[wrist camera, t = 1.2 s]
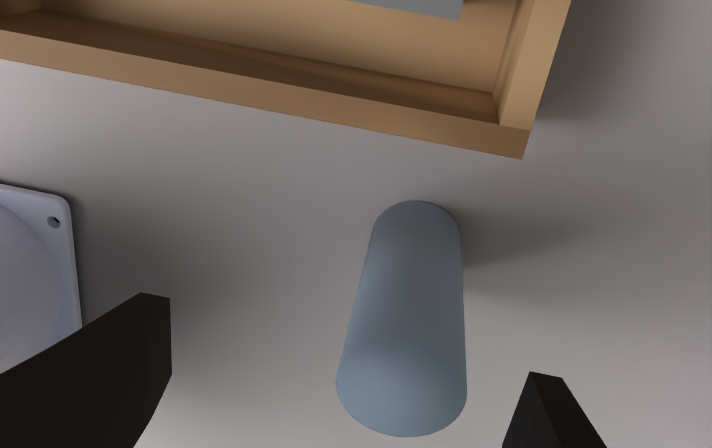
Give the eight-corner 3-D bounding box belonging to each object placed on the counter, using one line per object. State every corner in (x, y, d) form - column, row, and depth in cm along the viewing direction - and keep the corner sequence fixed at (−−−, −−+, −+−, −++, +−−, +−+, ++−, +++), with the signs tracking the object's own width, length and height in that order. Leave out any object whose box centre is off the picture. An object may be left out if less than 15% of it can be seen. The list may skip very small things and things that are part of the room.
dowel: (449, 286, 21) (450, 448, 15) (365, 268, 22) (328, 421, 15) (470, 210, 20) (481, 354, 13) (379, 192, 20) (345, 325, 13)
